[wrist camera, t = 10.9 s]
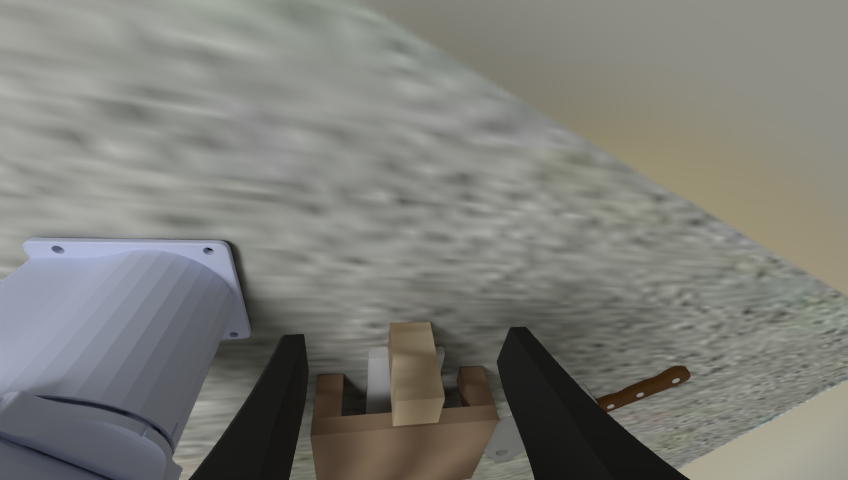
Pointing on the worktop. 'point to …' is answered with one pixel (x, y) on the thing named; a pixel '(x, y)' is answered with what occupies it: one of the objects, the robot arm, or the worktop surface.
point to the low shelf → (402, 436)
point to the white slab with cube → (407, 376)
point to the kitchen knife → (506, 432)
